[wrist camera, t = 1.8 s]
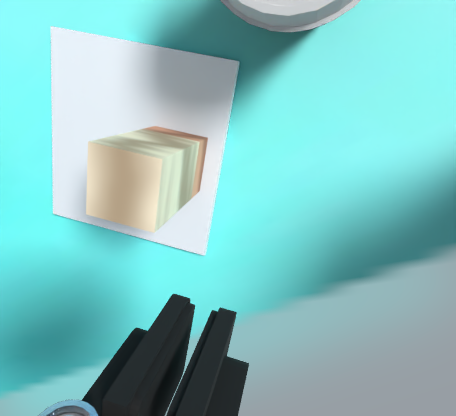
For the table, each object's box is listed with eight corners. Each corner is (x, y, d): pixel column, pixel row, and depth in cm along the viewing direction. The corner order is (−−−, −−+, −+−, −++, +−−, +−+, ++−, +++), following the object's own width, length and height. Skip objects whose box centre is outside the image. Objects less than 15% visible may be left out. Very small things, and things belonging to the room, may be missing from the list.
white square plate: (239, 61, 28) (238, 61, 27) (206, 252, 34) (204, 255, 33) (55, 27, 30) (50, 26, 29) (57, 211, 36) (53, 213, 36)
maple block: (208, 137, 30) (162, 159, 20) (199, 191, 31) (154, 232, 22) (155, 125, 30) (88, 141, 21) (149, 178, 32) (85, 214, 23)
